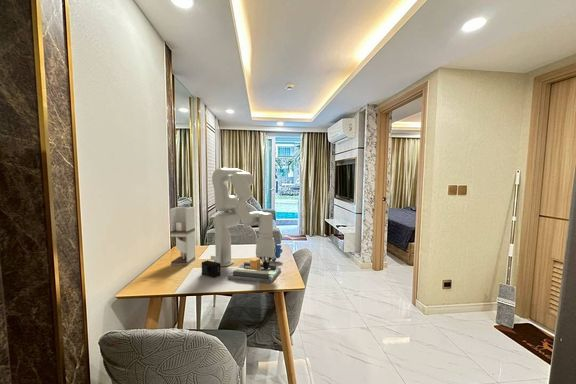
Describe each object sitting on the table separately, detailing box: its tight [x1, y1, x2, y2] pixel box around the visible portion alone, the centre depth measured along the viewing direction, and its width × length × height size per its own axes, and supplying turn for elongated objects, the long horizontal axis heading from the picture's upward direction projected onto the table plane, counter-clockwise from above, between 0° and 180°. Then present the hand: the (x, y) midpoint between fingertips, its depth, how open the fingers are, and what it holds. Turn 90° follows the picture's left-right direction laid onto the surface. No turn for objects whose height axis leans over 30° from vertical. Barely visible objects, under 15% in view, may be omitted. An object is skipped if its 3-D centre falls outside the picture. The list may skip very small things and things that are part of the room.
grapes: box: [271, 242, 283, 262], centre depth 167 cm, size 12×7×12 cm, turn 94°
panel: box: [227, 264, 282, 284], centre depth 141 cm, size 24×18×3 cm
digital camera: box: [201, 260, 221, 279], centre depth 141 cm, size 10×5×7 cm, turn 59°
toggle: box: [249, 257, 262, 271], centre depth 141 cm, size 6×5×7 cm
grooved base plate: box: [232, 261, 277, 278], centre depth 141 cm, size 19×16×3 cm
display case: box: [169, 206, 196, 266], centre depth 163 cm, size 11×11×35 cm
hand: (266, 268), depth 139 cm, fingers closed
